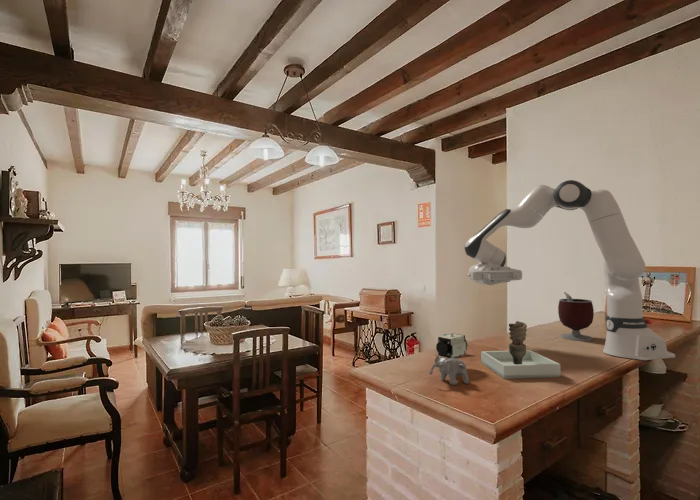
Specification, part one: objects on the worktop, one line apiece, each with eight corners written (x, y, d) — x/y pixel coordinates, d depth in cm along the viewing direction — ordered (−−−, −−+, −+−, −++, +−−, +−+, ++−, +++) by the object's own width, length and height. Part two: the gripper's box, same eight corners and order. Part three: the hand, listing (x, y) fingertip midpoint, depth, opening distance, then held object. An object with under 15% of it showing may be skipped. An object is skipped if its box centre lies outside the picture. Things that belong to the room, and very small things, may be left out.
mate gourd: (601, 341, 167) (600, 295, 167) (569, 341, 167) (568, 295, 168) (580, 333, 183) (579, 291, 183) (551, 334, 183) (550, 292, 183)
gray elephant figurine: (473, 383, 115) (473, 357, 116) (450, 390, 108) (450, 363, 108) (448, 377, 122) (448, 352, 123) (424, 383, 115) (424, 357, 115)
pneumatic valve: (436, 370, 128) (435, 334, 128) (456, 363, 135) (455, 329, 136) (449, 374, 124) (449, 336, 124) (470, 366, 131) (469, 331, 131)
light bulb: (526, 364, 129) (525, 320, 130) (528, 369, 124) (527, 322, 124) (508, 363, 131) (507, 319, 131) (509, 367, 126) (508, 322, 126)
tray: (530, 361, 137) (530, 350, 137) (560, 377, 119) (560, 364, 119) (481, 362, 136) (481, 351, 136) (503, 378, 118) (503, 365, 118)
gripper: (464, 267, 162) (477, 268, 148) (512, 266, 163) (529, 267, 149) (465, 282, 162) (477, 284, 148) (512, 281, 163) (529, 283, 149)
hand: (503, 276), depth 148 cm, fingers open, 8 cm apart
